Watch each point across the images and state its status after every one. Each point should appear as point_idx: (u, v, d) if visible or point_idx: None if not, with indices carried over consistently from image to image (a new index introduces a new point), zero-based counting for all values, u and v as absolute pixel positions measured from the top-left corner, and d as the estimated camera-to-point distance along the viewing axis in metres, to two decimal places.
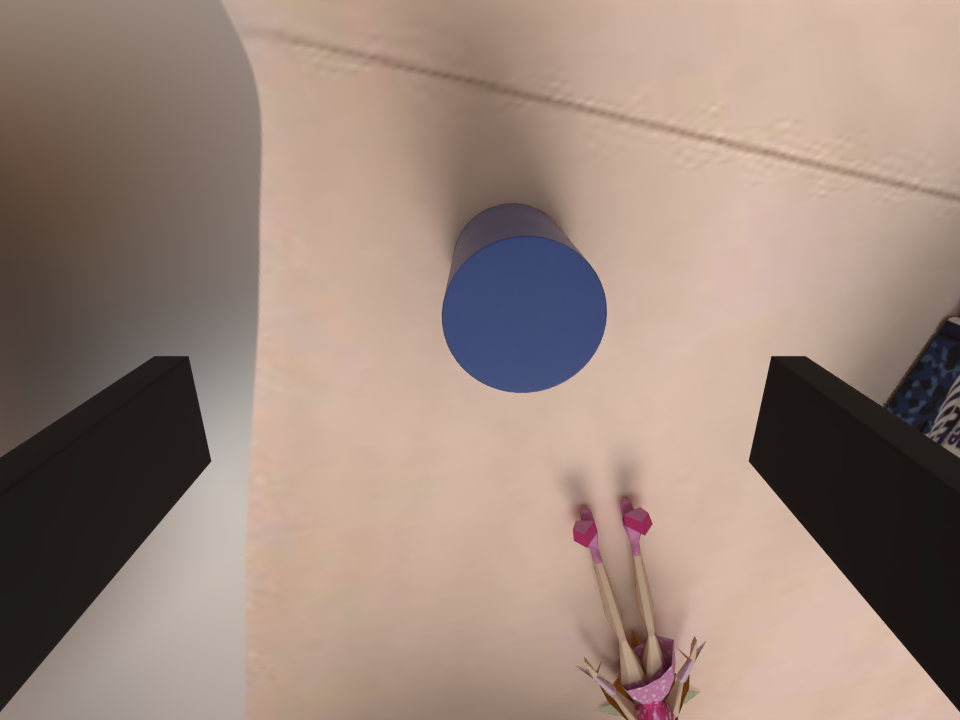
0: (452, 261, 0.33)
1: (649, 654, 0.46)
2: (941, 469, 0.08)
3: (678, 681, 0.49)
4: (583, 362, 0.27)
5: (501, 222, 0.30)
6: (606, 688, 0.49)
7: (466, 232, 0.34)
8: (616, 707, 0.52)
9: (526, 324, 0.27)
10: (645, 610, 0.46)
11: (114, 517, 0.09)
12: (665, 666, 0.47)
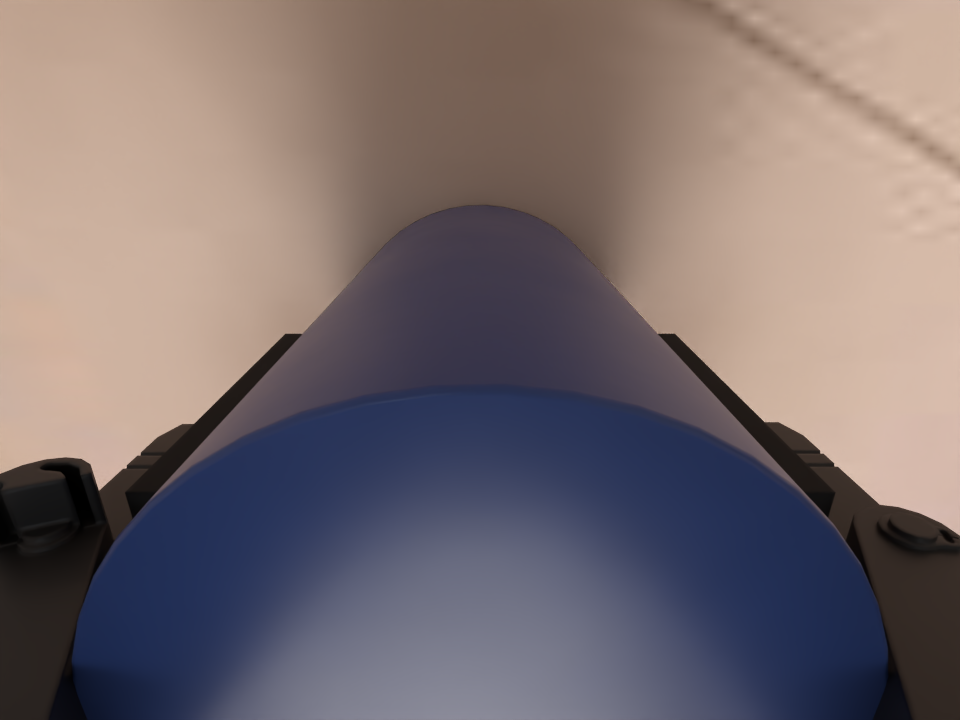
0: None
1: None
2: None
3: None
4: None
5: (479, 256, 0.09)
6: None
7: (382, 252, 0.13)
8: None
9: None
10: None
11: None
12: None
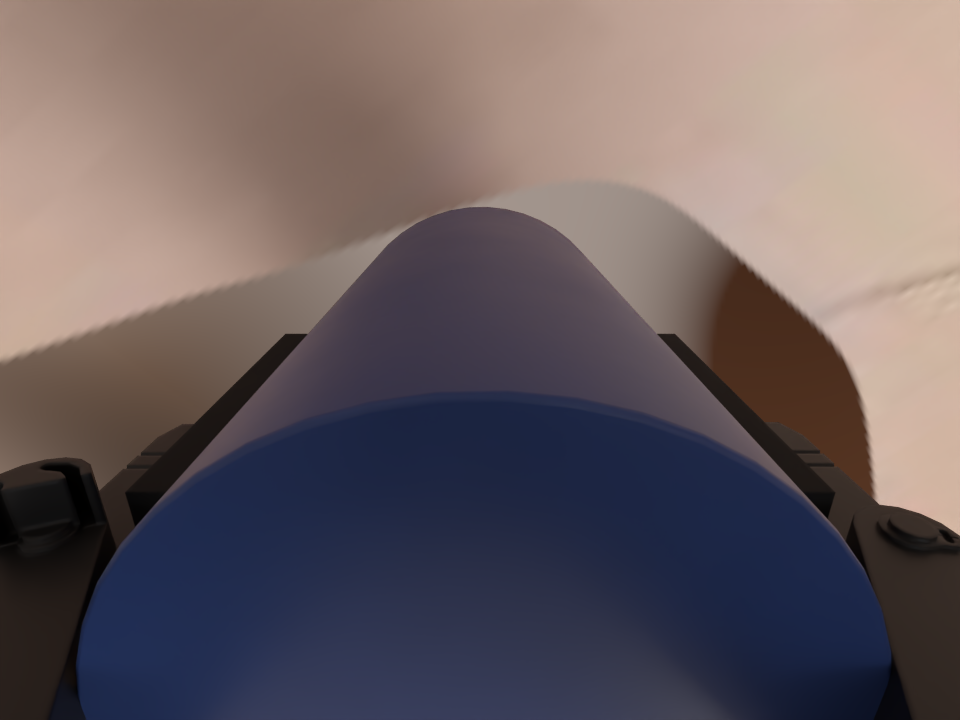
0: None
1: None
2: None
3: None
4: None
5: (480, 259, 0.09)
6: None
7: (383, 254, 0.13)
8: None
9: None
10: None
11: None
12: None
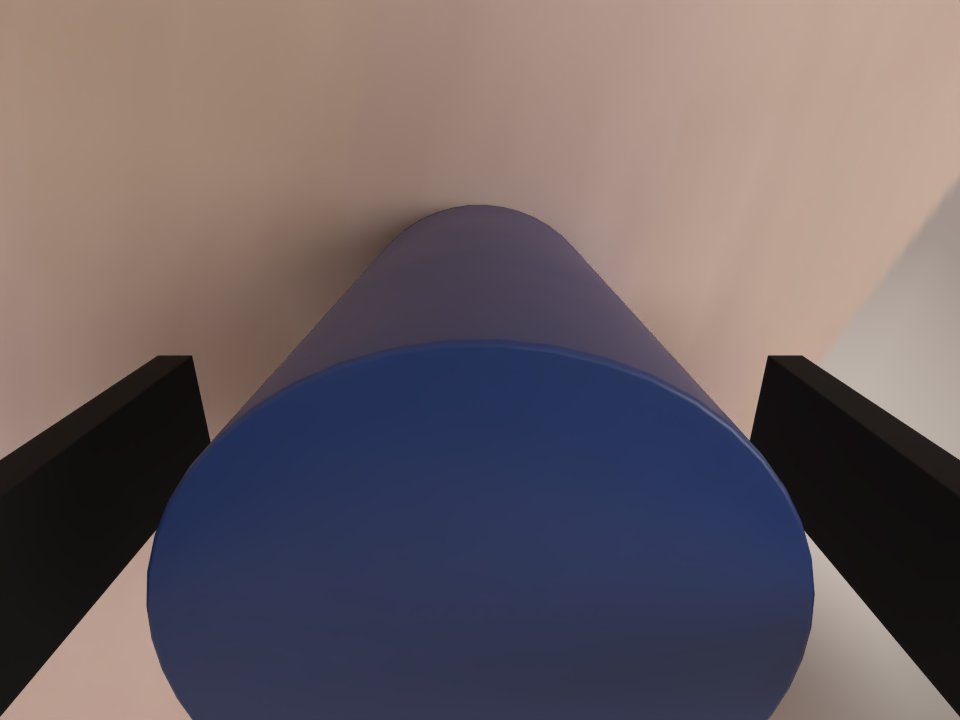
0: None
1: None
2: (935, 467, 0.08)
3: None
4: None
5: (479, 248, 0.10)
6: None
7: (390, 247, 0.14)
8: None
9: (485, 667, 0.07)
10: None
11: (119, 515, 0.10)
12: None
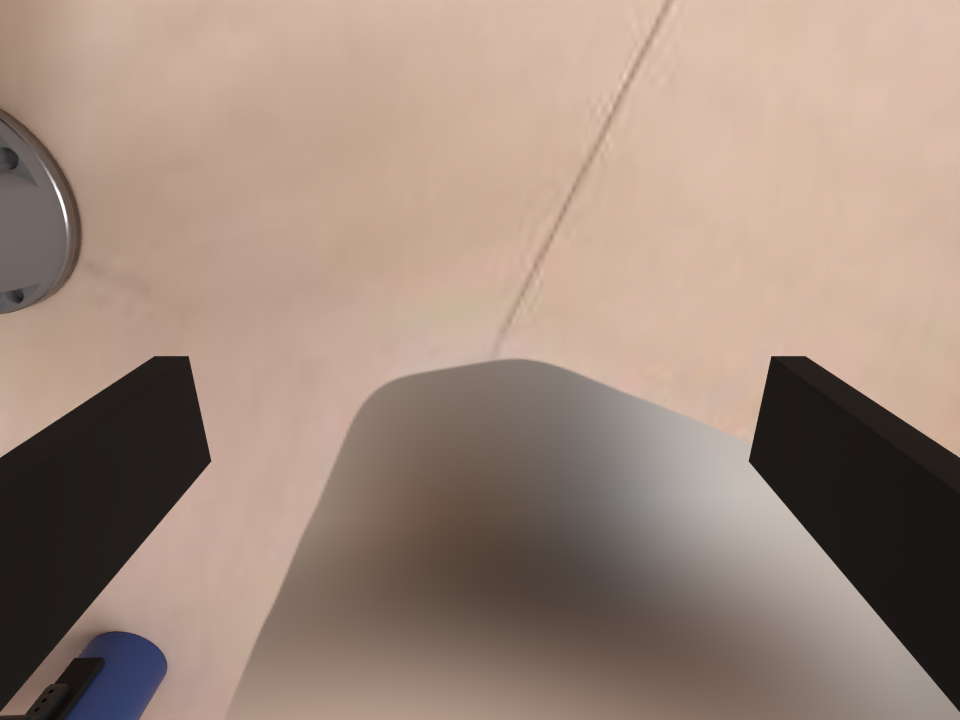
0: None
1: None
2: (941, 469, 0.08)
3: None
4: None
5: None
6: None
7: None
8: None
9: None
10: None
11: (114, 517, 0.09)
12: None
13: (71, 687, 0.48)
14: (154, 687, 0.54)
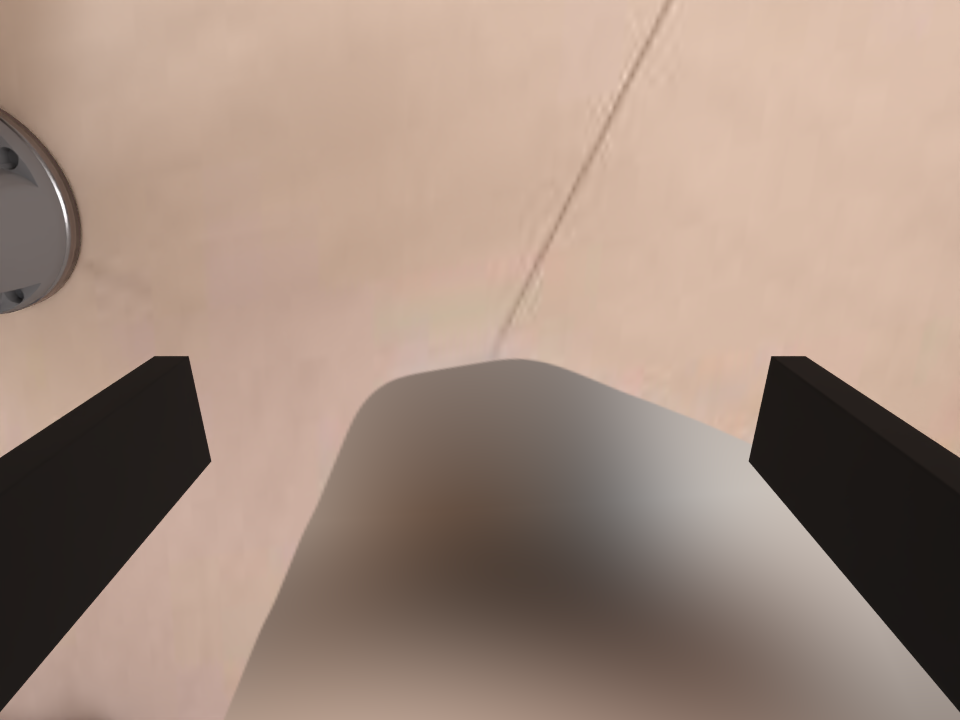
0: None
1: None
2: (941, 469, 0.08)
3: None
4: None
5: None
6: None
7: None
8: None
9: None
10: None
11: (114, 517, 0.09)
12: None
13: None
14: None
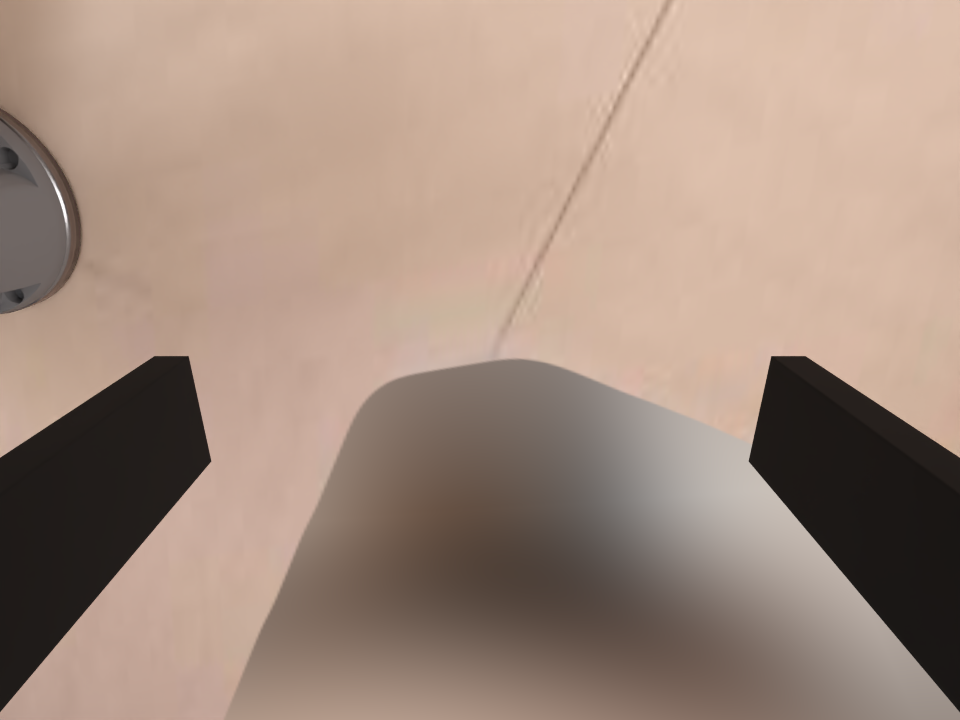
0: None
1: None
2: (941, 469, 0.08)
3: None
4: None
5: None
6: None
7: None
8: None
9: None
10: None
11: (114, 517, 0.09)
12: None
13: None
14: None
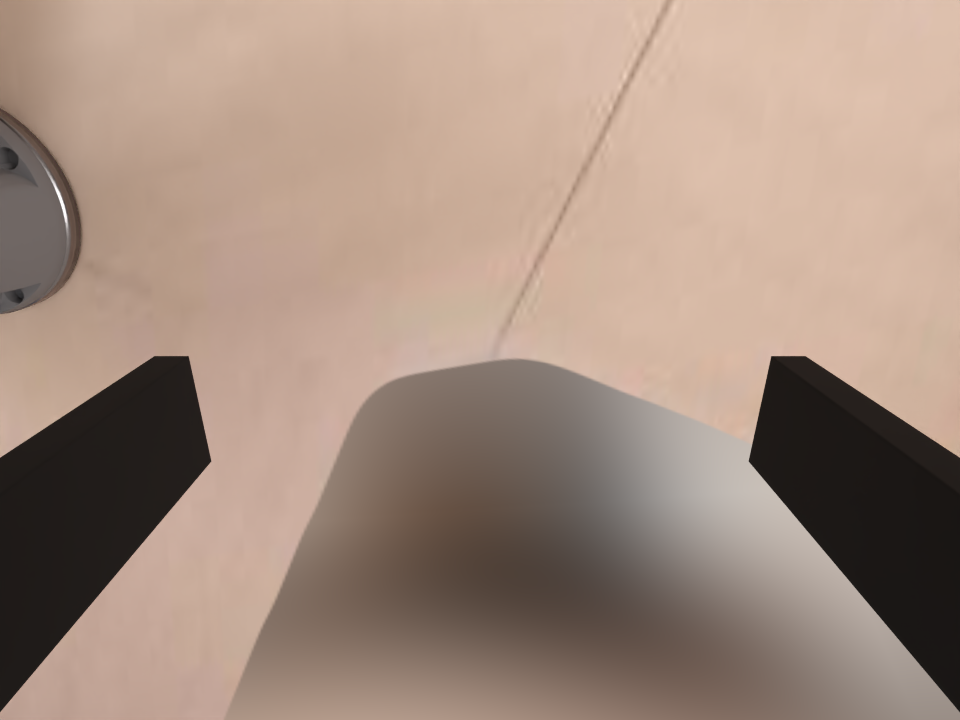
0: None
1: None
2: (941, 469, 0.08)
3: None
4: None
5: None
6: None
7: None
8: None
9: None
10: None
11: (114, 517, 0.09)
12: None
13: None
14: None
